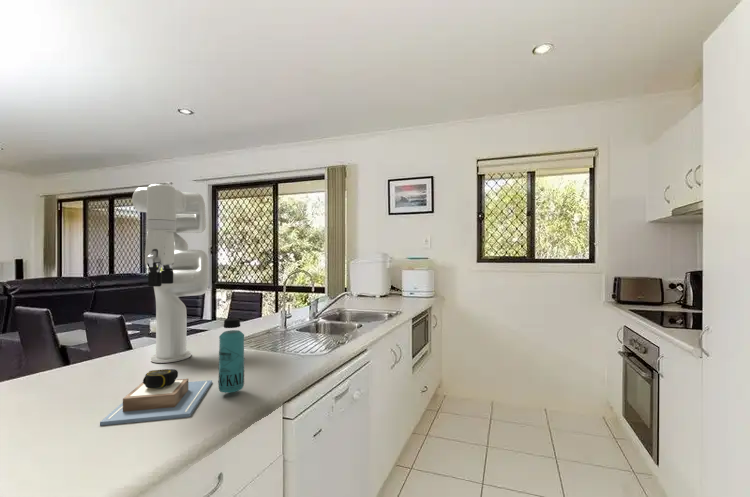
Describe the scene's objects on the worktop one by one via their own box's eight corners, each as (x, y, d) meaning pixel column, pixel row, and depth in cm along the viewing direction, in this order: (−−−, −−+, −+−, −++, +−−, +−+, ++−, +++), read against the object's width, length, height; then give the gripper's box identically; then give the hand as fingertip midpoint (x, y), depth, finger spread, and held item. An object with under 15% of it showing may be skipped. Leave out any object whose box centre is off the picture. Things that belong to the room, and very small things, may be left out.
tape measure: (179, 380, 94) (179, 366, 94) (170, 390, 87) (170, 374, 87) (150, 383, 92) (150, 368, 92) (139, 392, 86) (139, 377, 86)
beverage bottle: (222, 389, 97) (223, 316, 98) (247, 388, 98) (247, 316, 98) (214, 399, 91) (214, 321, 91) (240, 398, 92) (240, 320, 92)
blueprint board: (142, 388, 99) (142, 374, 99) (212, 382, 103) (212, 369, 103) (99, 425, 77) (100, 407, 77) (189, 416, 81) (189, 399, 81)
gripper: (158, 228, 113) (158, 282, 112) (134, 224, 96) (134, 288, 96) (184, 229, 114) (184, 282, 114) (165, 224, 97) (164, 287, 97)
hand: (161, 284), depth 105 cm, fingers open, 9 cm apart
